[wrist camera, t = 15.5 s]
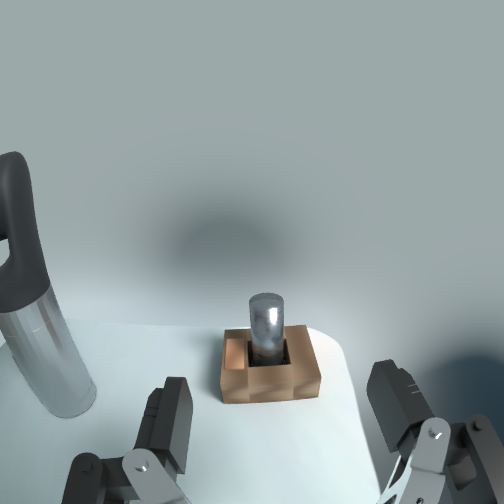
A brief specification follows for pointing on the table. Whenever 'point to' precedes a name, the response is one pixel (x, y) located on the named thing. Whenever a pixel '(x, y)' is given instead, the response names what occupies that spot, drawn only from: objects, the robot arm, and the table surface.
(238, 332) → the block
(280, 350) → the barrel peg
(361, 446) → the table surface
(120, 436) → the table surface
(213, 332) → the table surface
